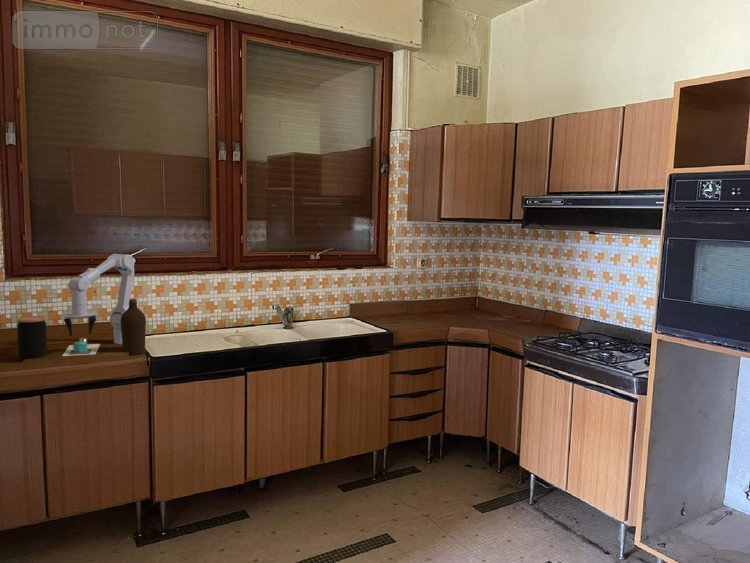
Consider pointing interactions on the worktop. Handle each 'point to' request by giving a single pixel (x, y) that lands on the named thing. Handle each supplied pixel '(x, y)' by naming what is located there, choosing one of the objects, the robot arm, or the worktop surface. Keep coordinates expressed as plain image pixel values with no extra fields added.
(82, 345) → the cap
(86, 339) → the post
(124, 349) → the olive oil
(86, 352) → the pad
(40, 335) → the coffee jar
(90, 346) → the board
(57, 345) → the worktop surface
